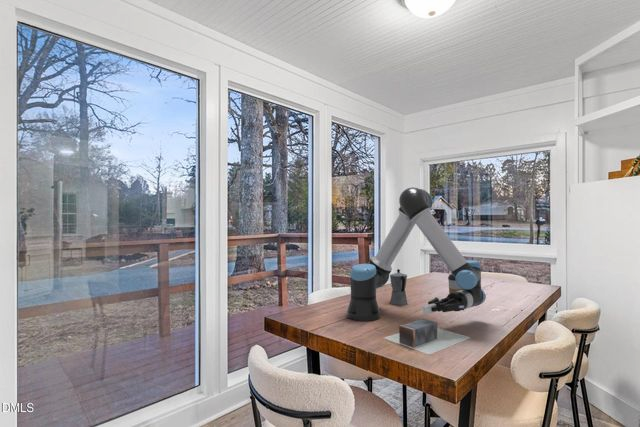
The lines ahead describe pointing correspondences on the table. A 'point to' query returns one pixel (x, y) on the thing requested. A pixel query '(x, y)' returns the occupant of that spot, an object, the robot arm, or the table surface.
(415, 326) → the slate block
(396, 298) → the coffeepot
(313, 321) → the table surface
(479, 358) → the table surface
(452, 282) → the coffee cup
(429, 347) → the sage mat
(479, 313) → the table surface
